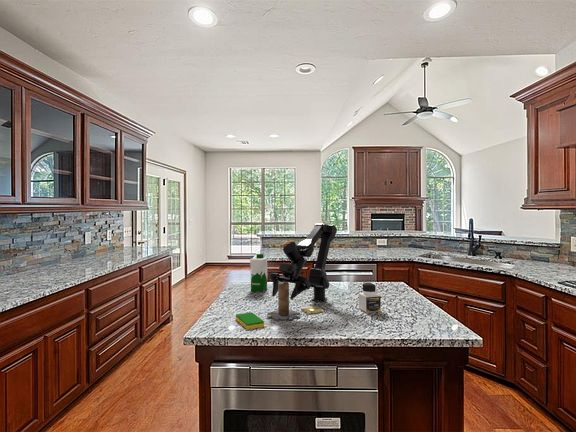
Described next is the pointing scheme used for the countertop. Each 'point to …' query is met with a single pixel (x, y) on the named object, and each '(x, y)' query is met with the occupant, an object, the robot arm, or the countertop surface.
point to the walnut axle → (283, 298)
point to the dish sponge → (249, 320)
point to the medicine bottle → (369, 298)
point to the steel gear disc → (279, 317)
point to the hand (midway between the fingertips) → (281, 297)
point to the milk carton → (258, 273)
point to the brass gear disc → (312, 310)
